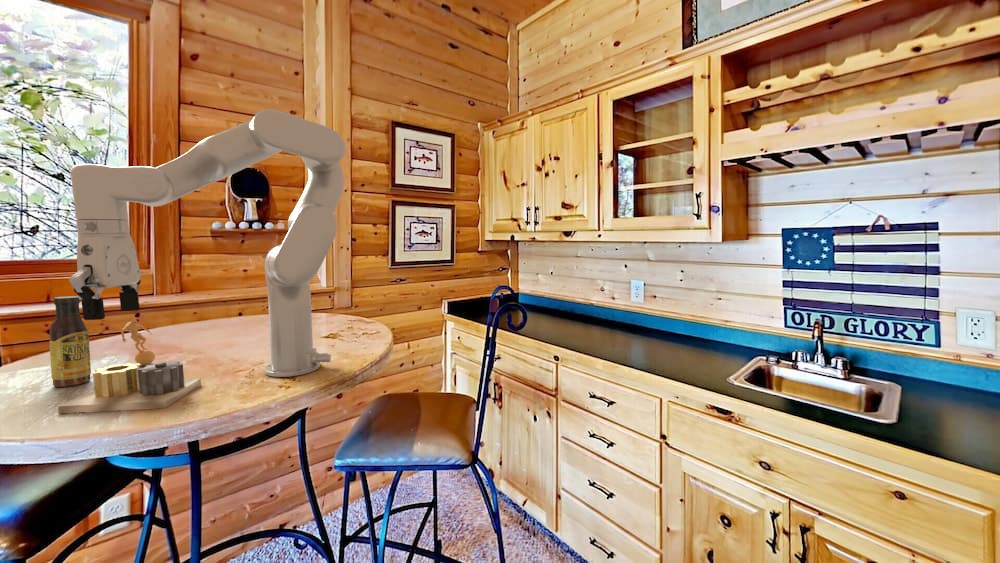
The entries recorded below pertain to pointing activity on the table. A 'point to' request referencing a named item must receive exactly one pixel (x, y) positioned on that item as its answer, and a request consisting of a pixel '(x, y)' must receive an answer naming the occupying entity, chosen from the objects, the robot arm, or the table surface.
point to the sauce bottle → (69, 344)
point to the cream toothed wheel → (116, 380)
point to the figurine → (143, 355)
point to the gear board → (155, 386)
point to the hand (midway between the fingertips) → (113, 314)
